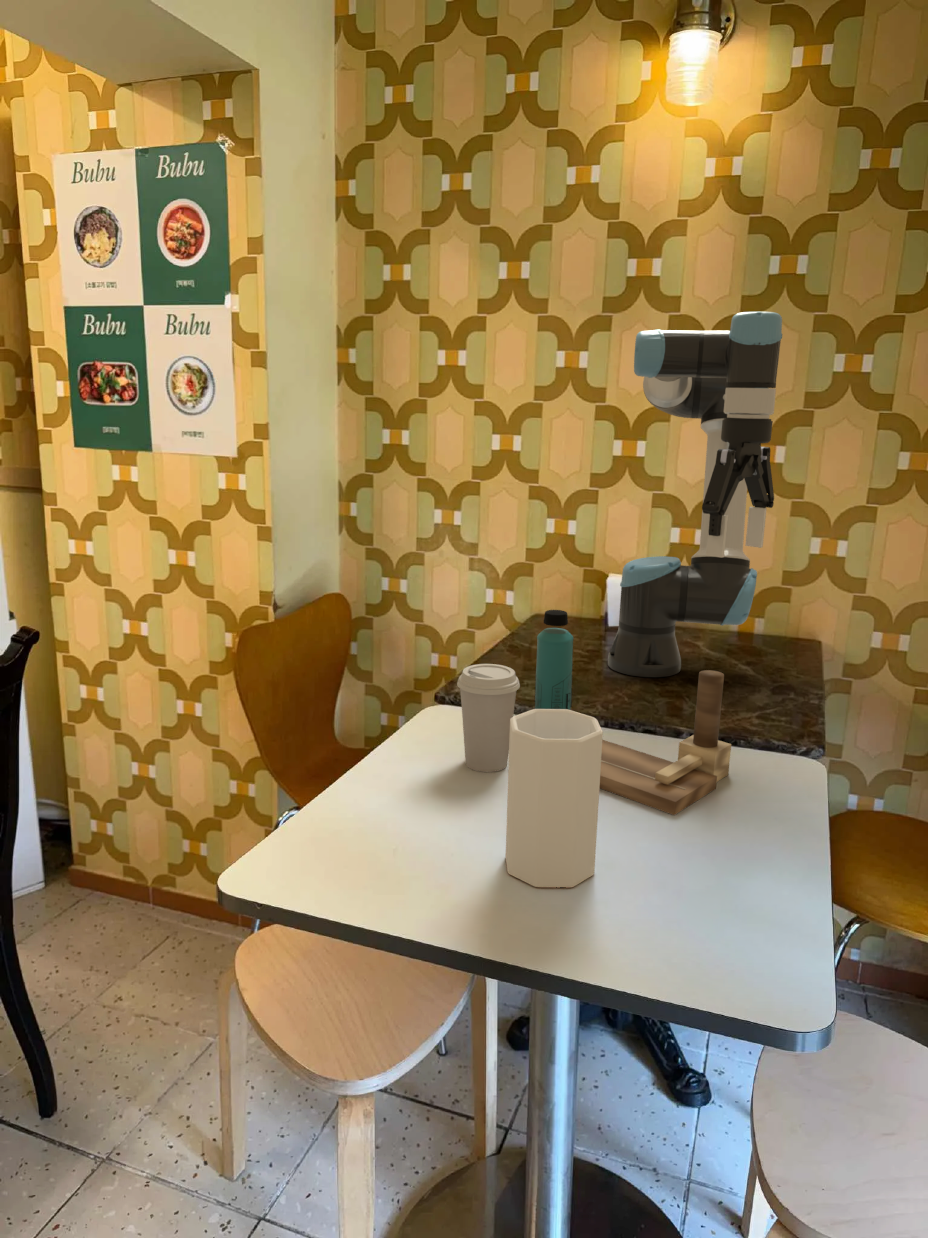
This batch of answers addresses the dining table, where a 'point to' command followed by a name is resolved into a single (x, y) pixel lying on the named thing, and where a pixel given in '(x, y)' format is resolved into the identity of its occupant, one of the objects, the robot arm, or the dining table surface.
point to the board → (650, 779)
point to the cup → (553, 797)
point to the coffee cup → (487, 714)
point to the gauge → (702, 735)
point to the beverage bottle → (554, 664)
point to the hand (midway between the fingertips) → (735, 551)
